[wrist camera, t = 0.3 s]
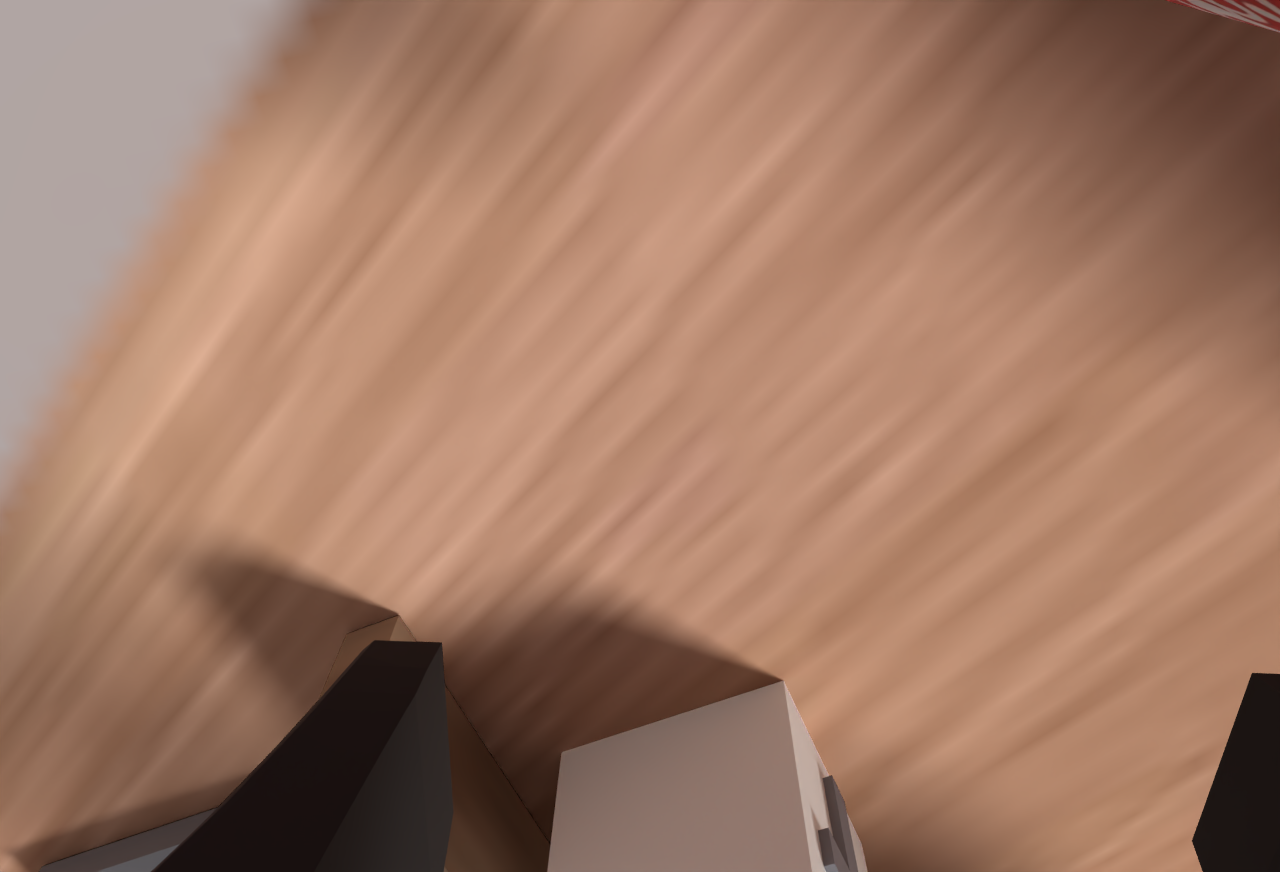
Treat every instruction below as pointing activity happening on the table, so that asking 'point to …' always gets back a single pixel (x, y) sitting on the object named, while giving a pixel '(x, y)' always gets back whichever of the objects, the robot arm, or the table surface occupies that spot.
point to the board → (132, 850)
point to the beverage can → (1241, 10)
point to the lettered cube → (704, 796)
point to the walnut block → (468, 784)
